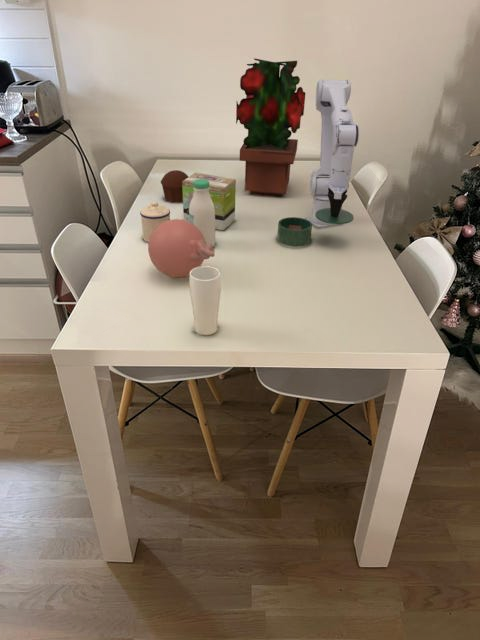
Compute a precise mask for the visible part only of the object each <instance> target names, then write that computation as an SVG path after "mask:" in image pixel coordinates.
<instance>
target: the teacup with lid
mask: <svg viewBox="0 0 480 640" xmlns="http://www.w3.org/2000/svg"><path fill="white" fill-rule="evenodd" d="M170 214H171V210H170V208H168V207H167V206H166V205H162V204H159V203H158V201H152V202H150V204H149V205H146V206H144V207H142V208H141V209H140V212H139V215H140V218H141V226H142V227H141V229H142V238H143V240H144V241H145V242H147V243H149V239H150V237H151V234H152V233H153V231H154V230H155V229H156V228H157V227H158V226H159V225H160V224H162V223H163V222H165V221H168V220H171V215H170Z"/></svg>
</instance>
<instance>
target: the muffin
mask: <svg viewBox="0 0 480 640" xmlns="http://www.w3.org/2000/svg"><path fill="white" fill-rule="evenodd" d="M188 177H189V175H188V174H187V173H186V172H184V171H182V170H170V171H168V172H166V173H165V174H164V176H163V177H162V178H161V180H160V184H161V187H162V191H163V195H164V199H165V200H166V201H165V202H169V203H171V204H174V203H176V204H180V203H183V188H182V181H184V180H185V179H187V178H188Z"/></svg>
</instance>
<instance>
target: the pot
mask: <svg viewBox="0 0 480 640" xmlns="http://www.w3.org/2000/svg"><path fill="white" fill-rule="evenodd" d="M289 225H296V226H302V230H292V229H288V228H289ZM312 231H313V223H312V222H310V221H309V220H308V219H306V218H303V217H299V216H298V217H296V216H290V217H289V216H288V217H284V218H281V219H279V221H278V223H277V237H276V240H277V241H278V243H280V244H282V245H284V246H288V247H297V248H298V247H304V246H307V245H309V244H311V239H312Z"/></svg>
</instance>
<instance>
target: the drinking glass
mask: <svg viewBox="0 0 480 640" xmlns="http://www.w3.org/2000/svg"><path fill="white" fill-rule="evenodd" d="M221 280H222V279H221V272H220V269H218V268H216V267H214V266H210V265H201V266H200V267H196V268H194V269H192V270H191V271H190V275H189V294H190V302H191V307H192V308H191V309H192V316H193V325H194V328H193V329H194V331H195V333H197V334H199V335H201V336H212V335H213V334H216V332H217V331H218V329H219V327H218V326H219V325H218V323H219V322H218V321H219V311H220V301H221V291H222V289H221V287H222V285H221V284H222V282H221Z"/></svg>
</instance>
